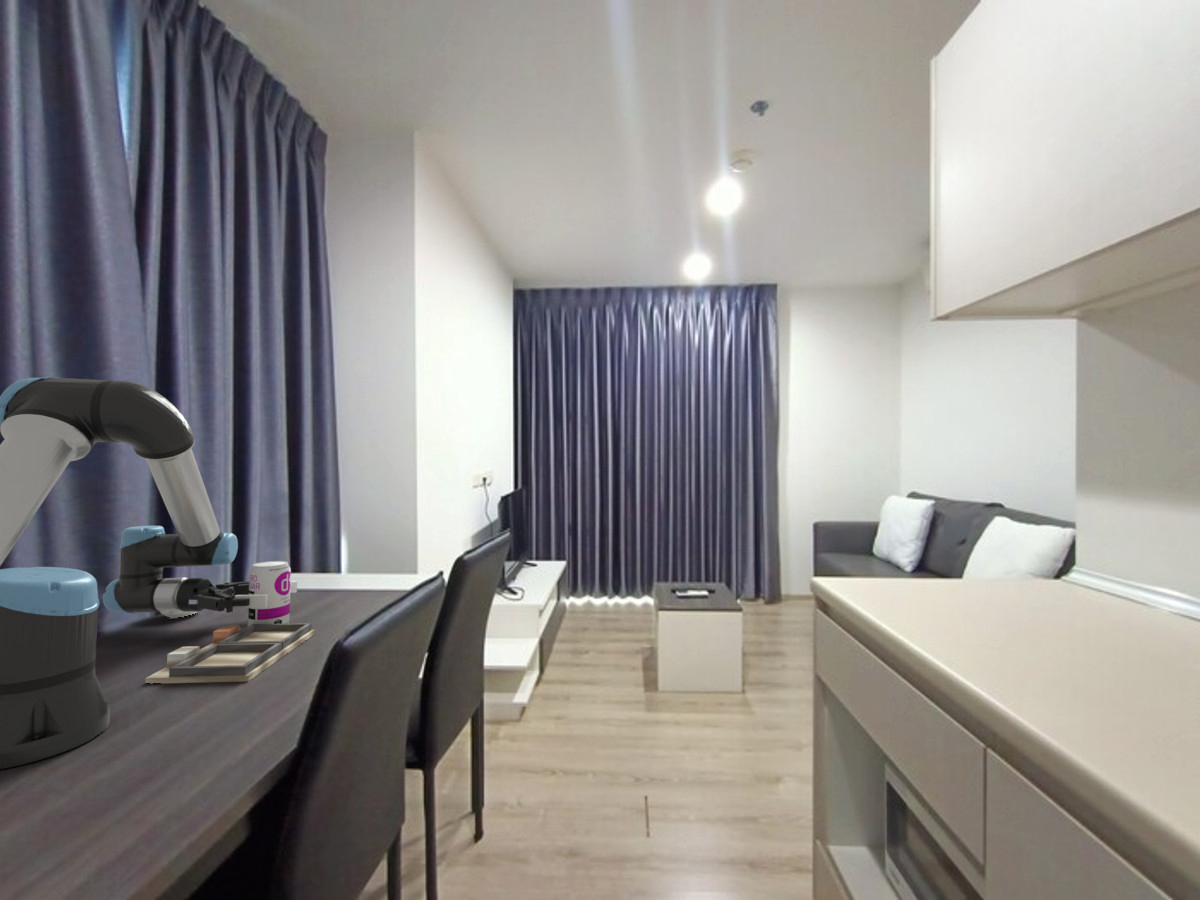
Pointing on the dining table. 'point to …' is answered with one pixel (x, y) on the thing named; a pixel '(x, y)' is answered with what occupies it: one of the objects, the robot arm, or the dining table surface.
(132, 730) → the dining table surface
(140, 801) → the dining table surface
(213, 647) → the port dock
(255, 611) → the supplement can
